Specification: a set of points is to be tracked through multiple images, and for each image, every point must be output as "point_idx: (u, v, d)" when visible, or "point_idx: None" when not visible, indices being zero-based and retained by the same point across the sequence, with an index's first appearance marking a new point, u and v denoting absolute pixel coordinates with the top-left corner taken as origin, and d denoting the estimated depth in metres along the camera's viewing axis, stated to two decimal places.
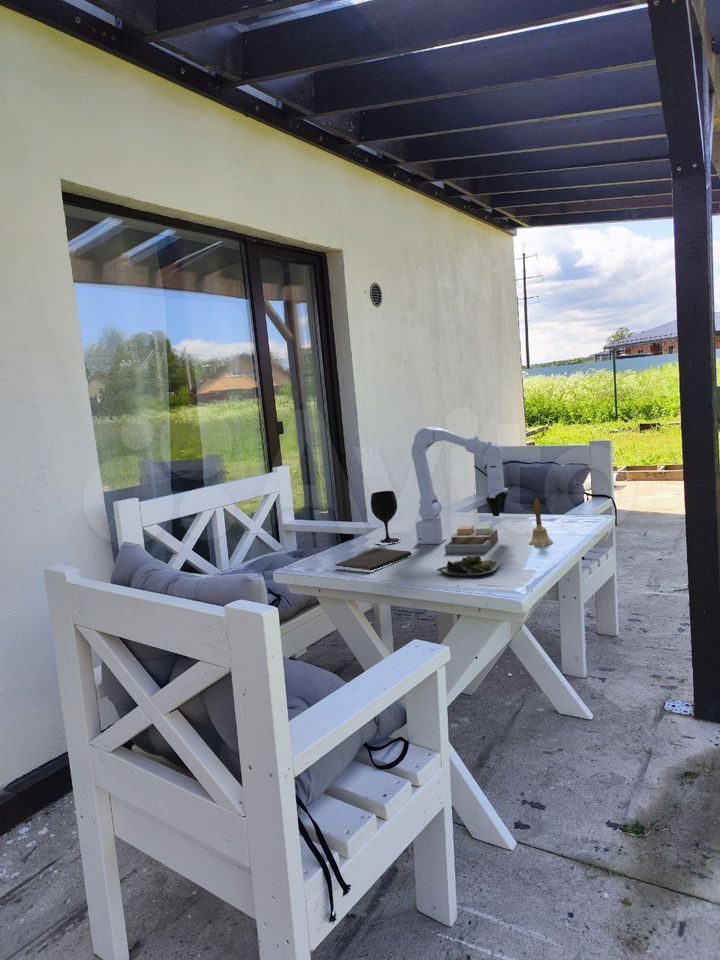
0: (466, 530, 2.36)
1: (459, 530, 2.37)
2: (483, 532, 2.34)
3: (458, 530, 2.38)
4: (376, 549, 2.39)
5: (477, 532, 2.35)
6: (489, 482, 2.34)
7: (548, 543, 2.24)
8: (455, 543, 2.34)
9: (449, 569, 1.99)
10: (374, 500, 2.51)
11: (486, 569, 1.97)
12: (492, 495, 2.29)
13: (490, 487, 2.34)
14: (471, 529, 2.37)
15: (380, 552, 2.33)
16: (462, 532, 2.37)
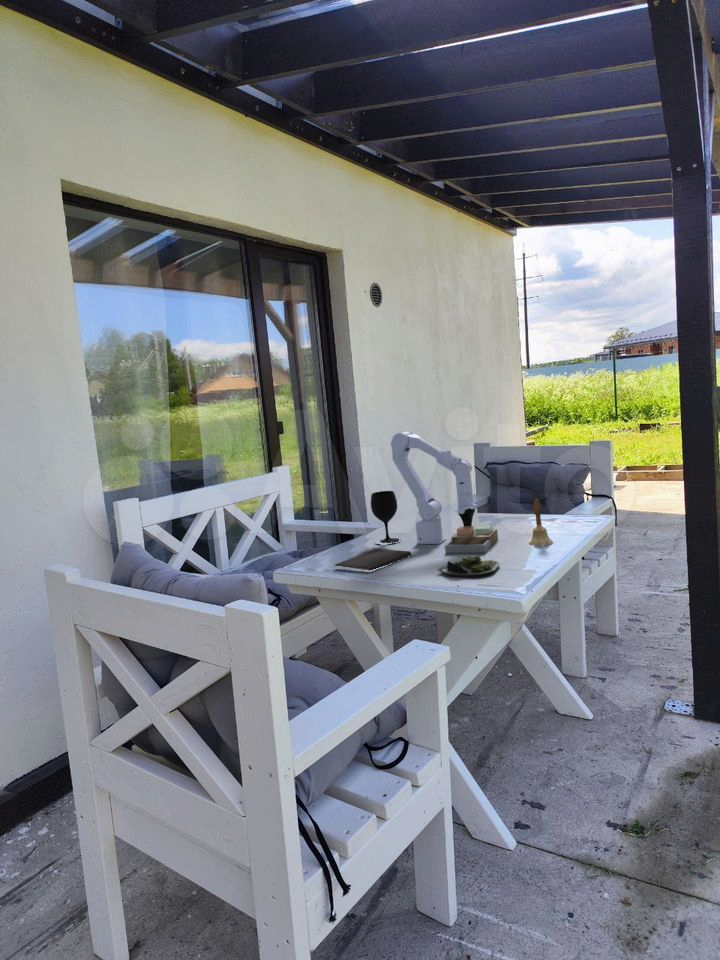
0: (466, 530, 2.36)
1: (459, 530, 2.37)
2: (483, 532, 2.34)
3: (458, 530, 2.37)
4: (376, 549, 2.39)
5: (477, 532, 2.35)
6: (458, 498, 2.40)
7: (548, 543, 2.24)
8: (455, 543, 2.34)
9: (449, 569, 1.99)
10: (374, 500, 2.51)
11: (486, 569, 1.97)
12: (461, 511, 2.35)
13: (459, 503, 2.39)
14: (471, 529, 2.37)
15: (380, 552, 2.33)
16: (462, 532, 2.37)
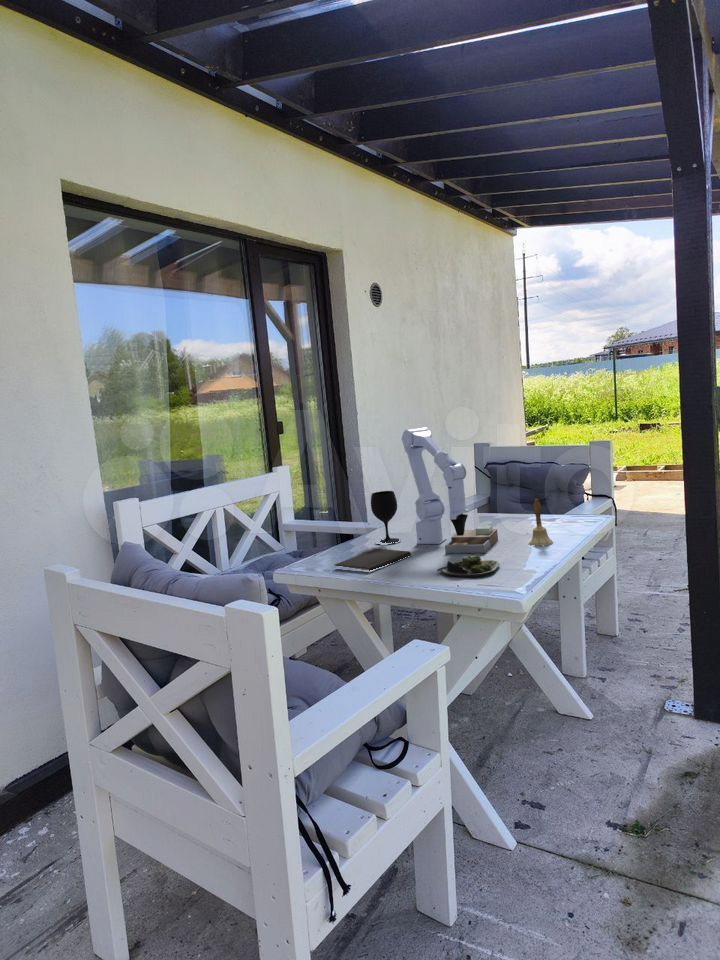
0: None
1: None
2: (483, 532, 2.34)
3: None
4: (376, 549, 2.39)
5: (477, 532, 2.35)
6: (450, 503, 2.30)
7: (548, 543, 2.24)
8: None
9: (449, 569, 1.99)
10: (374, 500, 2.51)
11: (486, 569, 1.97)
12: (453, 517, 2.25)
13: (451, 508, 2.30)
14: None
15: (380, 552, 2.33)
16: None
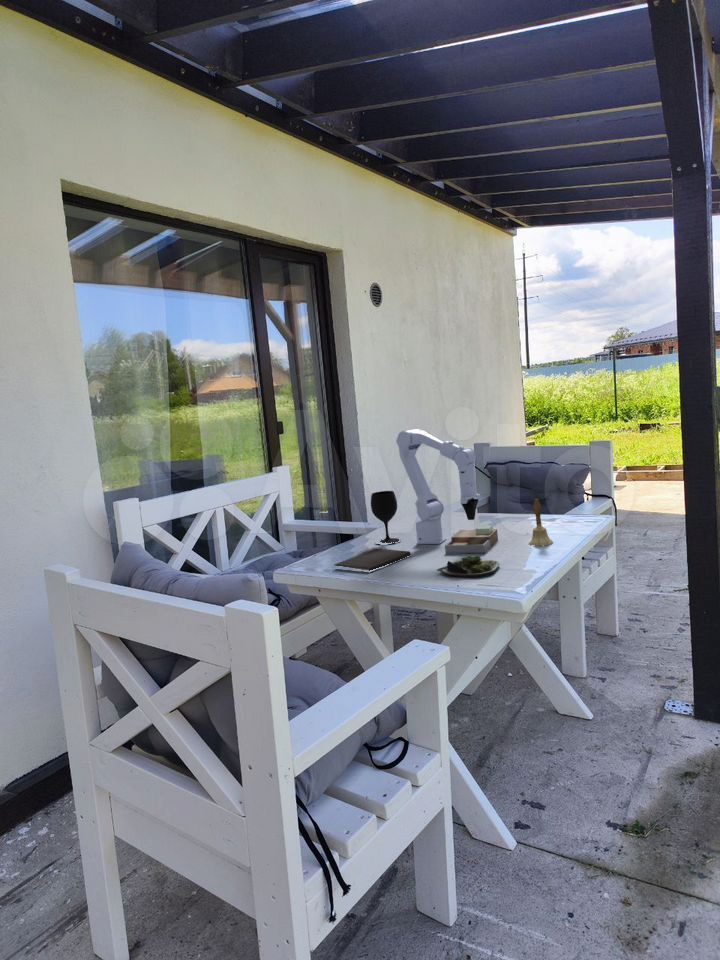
0: None
1: None
2: (483, 532, 2.34)
3: None
4: (376, 549, 2.39)
5: (477, 532, 2.35)
6: (461, 488, 2.33)
7: (548, 543, 2.24)
8: None
9: (449, 569, 1.99)
10: (374, 500, 2.51)
11: (486, 569, 1.97)
12: (463, 501, 2.28)
13: (462, 493, 2.32)
14: None
15: (380, 552, 2.33)
16: None
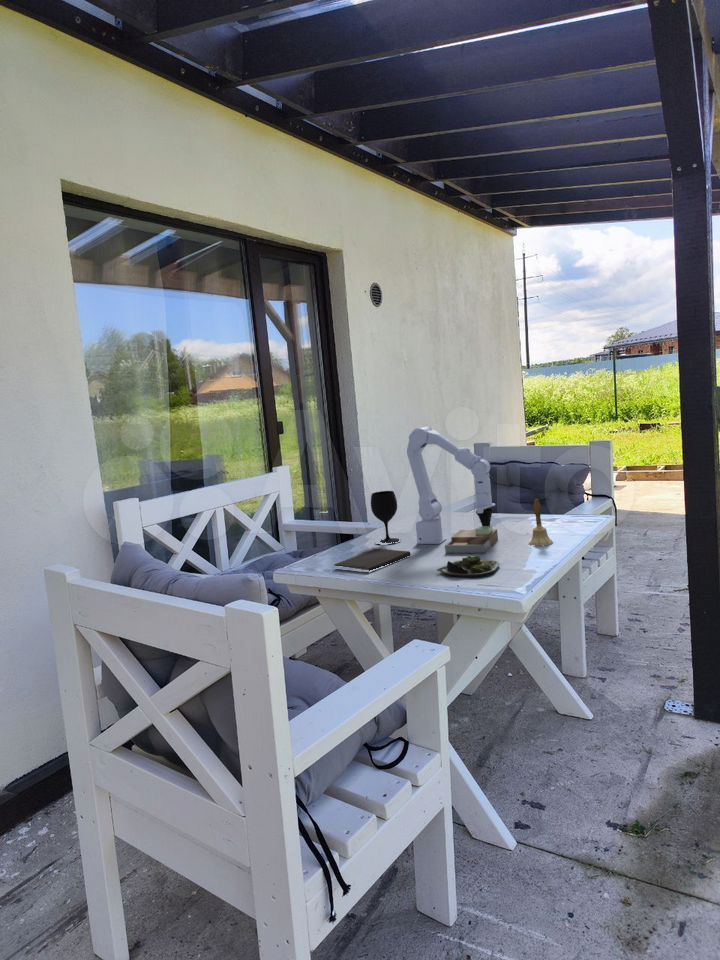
0: None
1: None
2: (483, 532, 2.33)
3: None
4: (376, 549, 2.39)
5: (477, 532, 2.34)
6: (477, 497, 2.36)
7: (548, 543, 2.24)
8: None
9: (449, 569, 1.99)
10: (374, 500, 2.51)
11: (486, 569, 1.97)
12: (480, 510, 2.31)
13: (478, 502, 2.36)
14: None
15: (379, 552, 2.33)
16: None
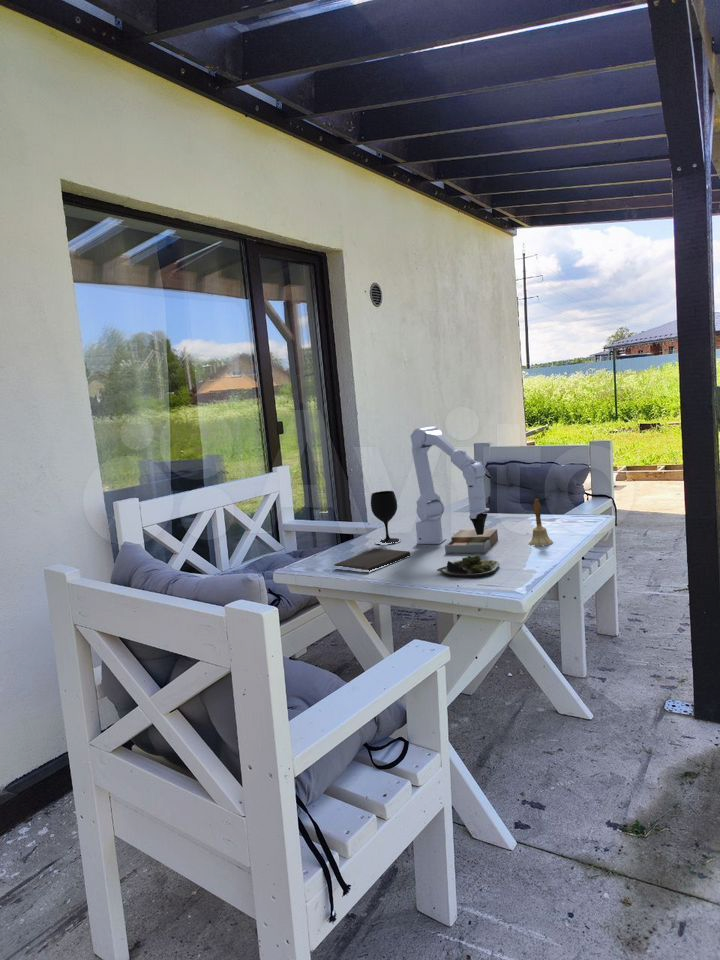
0: None
1: None
2: None
3: None
4: (375, 549, 2.39)
5: None
6: (470, 502, 2.28)
7: (548, 543, 2.24)
8: None
9: (449, 569, 1.99)
10: (374, 500, 2.51)
11: (486, 569, 1.97)
12: (473, 516, 2.23)
13: (471, 507, 2.28)
14: None
15: (379, 552, 2.33)
16: None
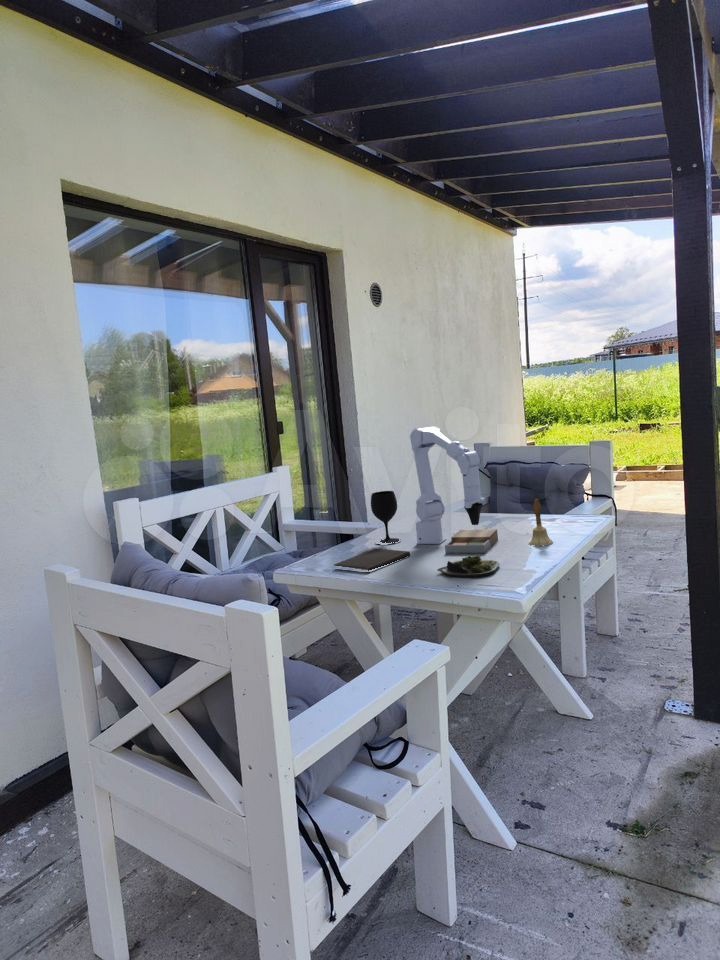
0: None
1: None
2: None
3: None
4: (375, 549, 2.39)
5: None
6: (465, 491, 2.23)
7: (548, 543, 2.24)
8: None
9: (449, 569, 1.99)
10: (374, 500, 2.51)
11: (486, 569, 1.97)
12: (468, 505, 2.18)
13: (466, 496, 2.23)
14: None
15: (379, 552, 2.33)
16: None
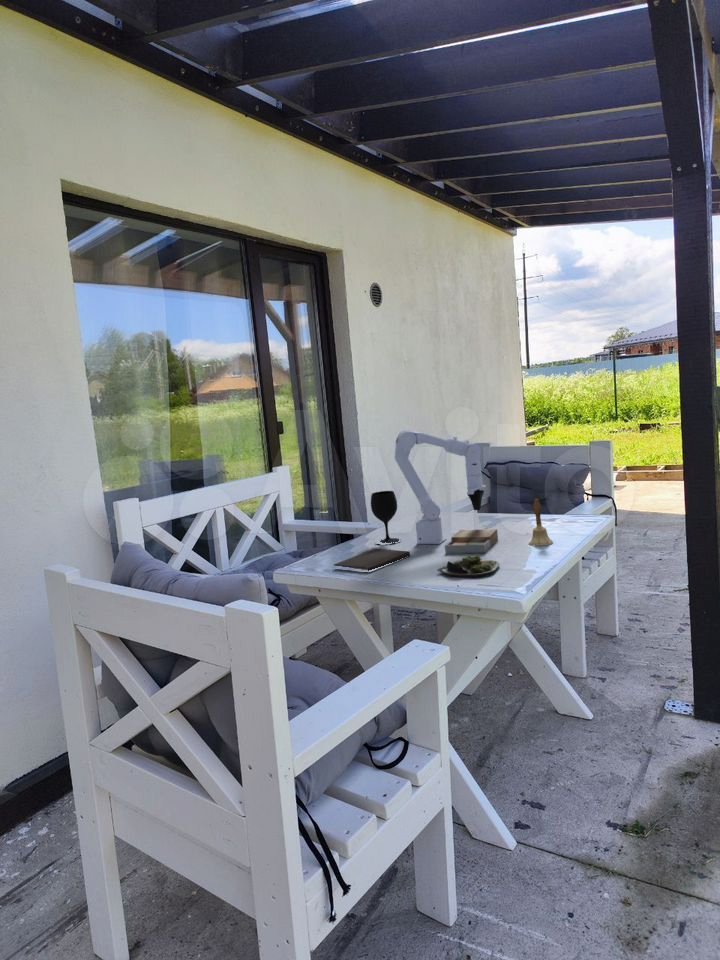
0: None
1: None
2: None
3: None
4: (375, 549, 2.39)
5: None
6: (468, 479, 2.45)
7: (548, 543, 2.24)
8: None
9: (449, 569, 1.99)
10: (374, 500, 2.51)
11: (486, 569, 1.97)
12: (470, 492, 2.40)
13: (469, 484, 2.45)
14: None
15: (379, 552, 2.33)
16: None
